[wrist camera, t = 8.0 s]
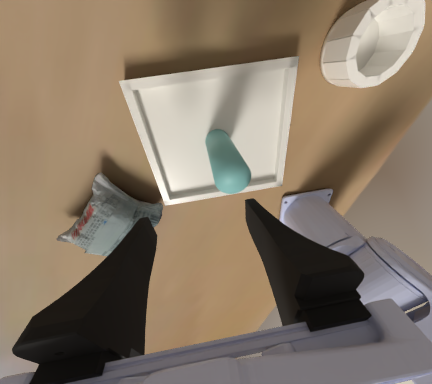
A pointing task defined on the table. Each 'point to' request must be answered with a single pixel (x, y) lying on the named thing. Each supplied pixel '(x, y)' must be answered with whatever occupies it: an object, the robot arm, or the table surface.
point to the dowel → (226, 163)
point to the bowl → (371, 42)
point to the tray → (214, 123)
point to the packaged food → (108, 218)
